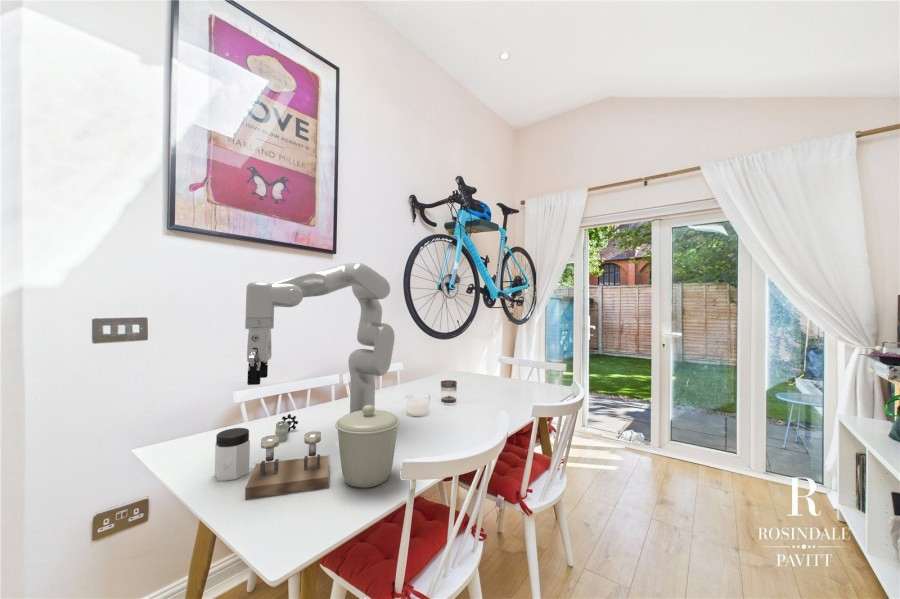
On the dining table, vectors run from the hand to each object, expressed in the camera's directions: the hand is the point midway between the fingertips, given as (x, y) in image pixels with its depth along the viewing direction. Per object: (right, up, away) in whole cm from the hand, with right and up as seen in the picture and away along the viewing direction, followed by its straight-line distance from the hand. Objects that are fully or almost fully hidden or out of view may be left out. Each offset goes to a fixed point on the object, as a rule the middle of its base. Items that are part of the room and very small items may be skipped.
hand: (257, 380), depth 105 cm
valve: (-4, -27, +26) cm, 37 cm away
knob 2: (+18, -20, -4) cm, 28 cm away
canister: (+34, -27, -4) cm, 44 cm away
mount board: (+13, -27, -6) cm, 30 cm away
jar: (-6, -27, -3) cm, 27 cm away
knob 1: (+8, -20, -8) cm, 23 cm away
